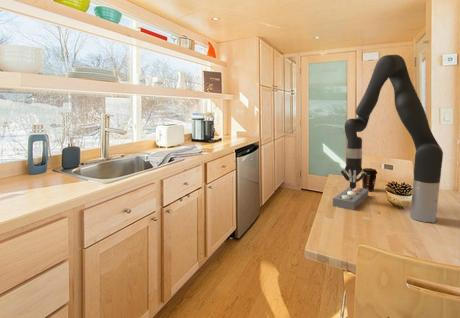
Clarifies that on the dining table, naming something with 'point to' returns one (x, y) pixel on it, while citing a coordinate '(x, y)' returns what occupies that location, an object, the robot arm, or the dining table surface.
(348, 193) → the offwhite button
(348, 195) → the sage button
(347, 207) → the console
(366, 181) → the coffee cup
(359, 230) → the dining table surface
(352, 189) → the terracotta button
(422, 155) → the robot arm
